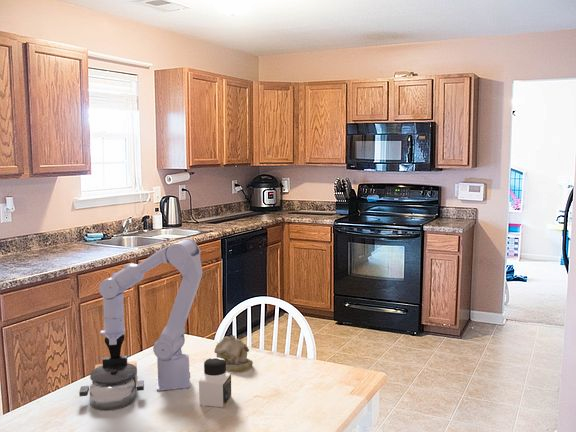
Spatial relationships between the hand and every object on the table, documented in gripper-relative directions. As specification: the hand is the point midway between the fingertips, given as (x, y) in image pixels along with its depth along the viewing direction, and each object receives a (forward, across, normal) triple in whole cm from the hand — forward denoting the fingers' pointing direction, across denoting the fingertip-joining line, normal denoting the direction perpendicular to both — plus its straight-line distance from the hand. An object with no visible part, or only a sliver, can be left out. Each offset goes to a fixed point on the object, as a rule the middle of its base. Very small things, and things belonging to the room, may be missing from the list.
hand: (115, 359), depth 168 cm
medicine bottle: (+7, +21, +28) cm, 36 cm away
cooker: (+6, +9, 0) cm, 11 cm away
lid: (+2, +7, 0) cm, 8 cm away
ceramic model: (+7, -4, +36) cm, 37 cm away
